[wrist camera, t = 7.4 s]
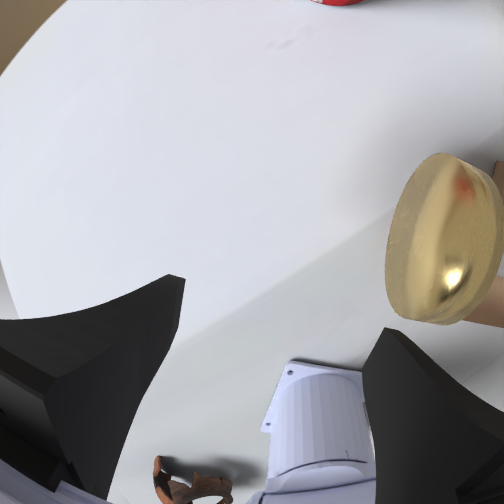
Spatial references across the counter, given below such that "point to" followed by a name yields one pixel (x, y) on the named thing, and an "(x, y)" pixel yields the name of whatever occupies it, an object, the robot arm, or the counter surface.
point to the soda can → (338, 2)
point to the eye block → (500, 293)
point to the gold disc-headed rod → (444, 242)
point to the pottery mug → (181, 495)
